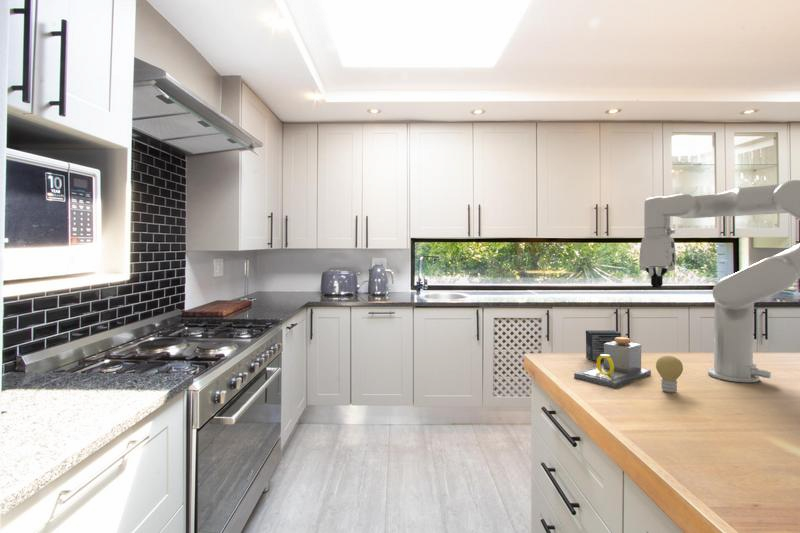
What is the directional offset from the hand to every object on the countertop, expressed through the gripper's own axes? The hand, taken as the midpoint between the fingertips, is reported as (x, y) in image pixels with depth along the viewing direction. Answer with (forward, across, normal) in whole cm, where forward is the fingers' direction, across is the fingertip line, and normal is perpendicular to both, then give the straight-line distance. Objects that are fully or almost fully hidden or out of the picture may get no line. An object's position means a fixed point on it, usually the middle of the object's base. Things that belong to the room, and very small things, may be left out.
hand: (656, 287), depth 144 cm
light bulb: (+27, -14, +25) cm, 40 cm away
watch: (+26, +3, +28) cm, 38 cm away
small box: (+27, +16, +5) cm, 32 cm away
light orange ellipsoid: (+24, +3, +17) cm, 29 cm away
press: (+27, +3, +23) cm, 36 cm away
